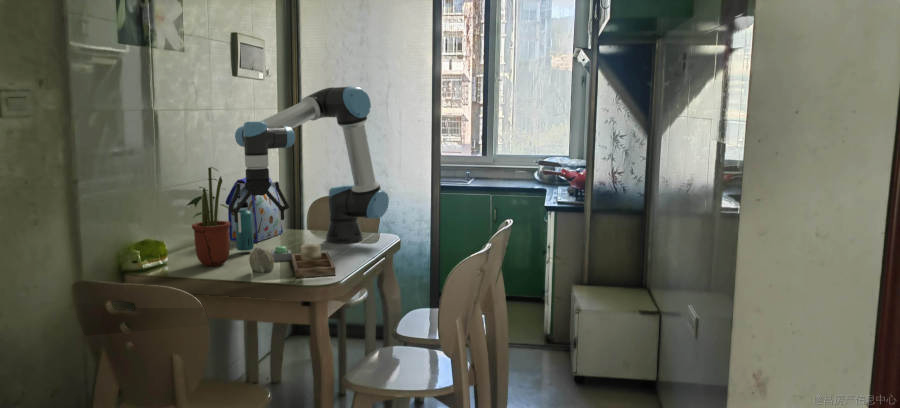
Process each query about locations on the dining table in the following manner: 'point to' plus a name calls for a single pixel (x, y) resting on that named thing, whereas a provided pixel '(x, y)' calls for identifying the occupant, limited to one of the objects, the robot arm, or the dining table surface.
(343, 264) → the dining table surface
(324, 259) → the brown wooden tray
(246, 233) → the beverage bottle
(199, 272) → the dining table surface
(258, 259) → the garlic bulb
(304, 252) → the block
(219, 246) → the potted plant
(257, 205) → the lunch bag
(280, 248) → the button
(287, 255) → the button box
